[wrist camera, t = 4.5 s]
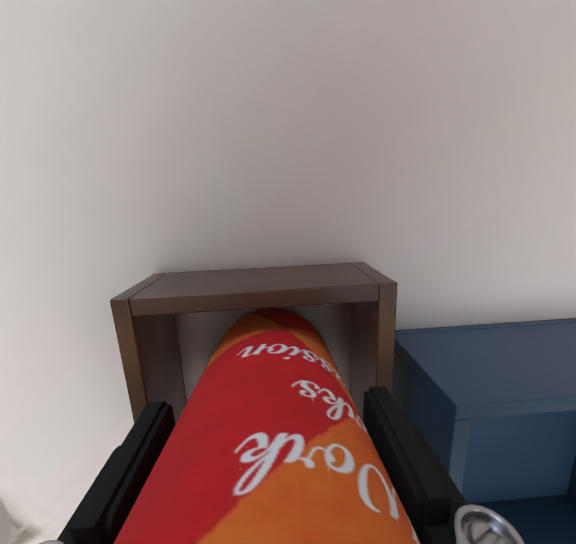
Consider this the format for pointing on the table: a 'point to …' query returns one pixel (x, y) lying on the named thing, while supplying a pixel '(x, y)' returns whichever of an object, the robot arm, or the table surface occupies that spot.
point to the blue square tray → (499, 416)
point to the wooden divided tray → (250, 295)
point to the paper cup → (269, 452)
